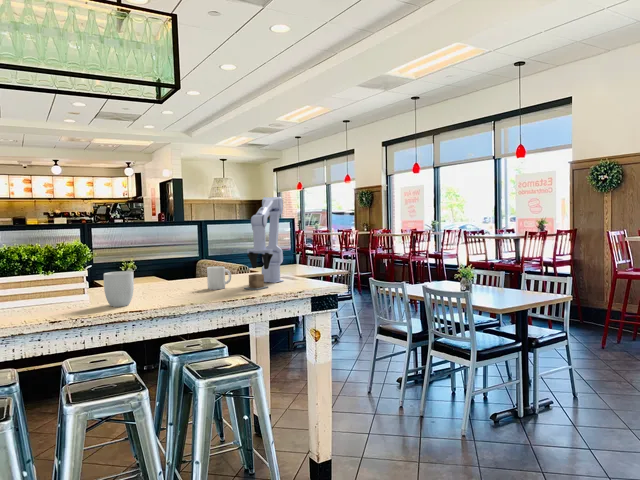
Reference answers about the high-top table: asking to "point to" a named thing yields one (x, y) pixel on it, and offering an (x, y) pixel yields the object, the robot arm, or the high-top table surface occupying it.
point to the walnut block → (256, 280)
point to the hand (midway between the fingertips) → (260, 268)
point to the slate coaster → (256, 288)
